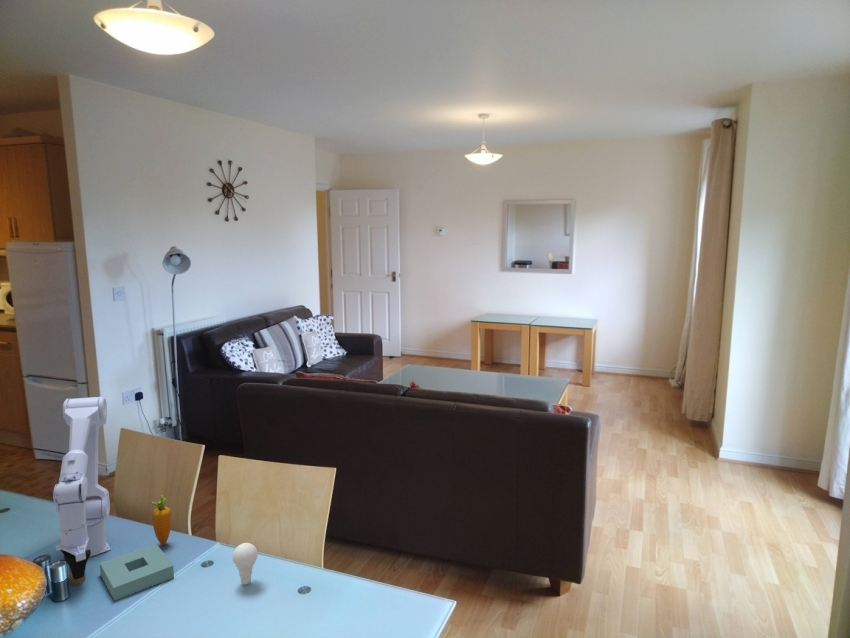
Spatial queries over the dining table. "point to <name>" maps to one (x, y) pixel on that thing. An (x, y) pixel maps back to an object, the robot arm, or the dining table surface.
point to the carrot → (162, 521)
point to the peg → (77, 581)
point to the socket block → (136, 571)
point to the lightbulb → (245, 560)
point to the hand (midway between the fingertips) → (77, 574)
